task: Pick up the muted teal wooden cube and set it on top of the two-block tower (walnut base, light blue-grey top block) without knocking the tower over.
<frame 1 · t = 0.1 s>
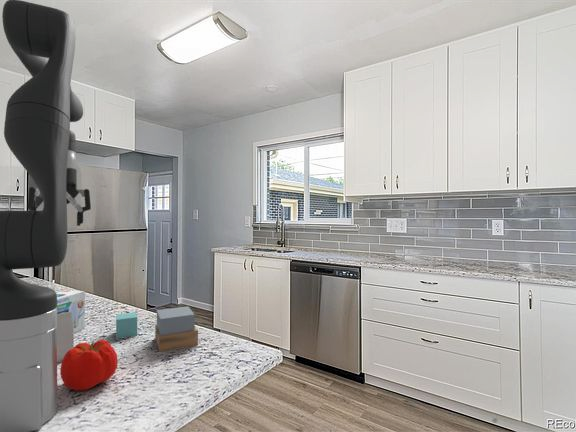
hand: (60, 225, 93), 29 cm above the countertop, fingers open, 8 cm apart
tomato: (90, 384, 65), on the countertop
teal cube: (126, 334, 91), on the countertop
white cardboard box: (53, 360, 75), on the countertop
light bulb box: (60, 334, 91), on the countertop
base block: (176, 343, 85), on the countertop, touching top block
top block: (175, 327, 85), point 4 cm above the countertop, touching base block
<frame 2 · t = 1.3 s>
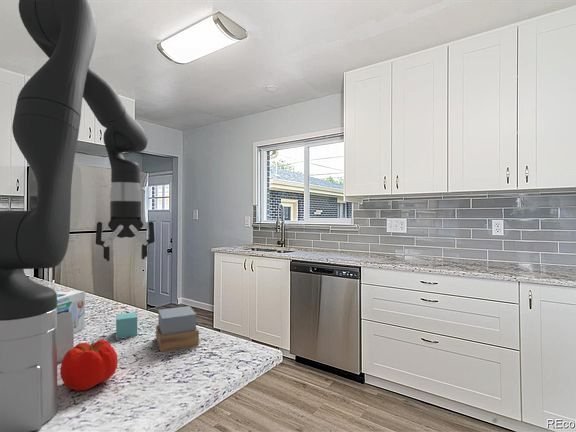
hand: (126, 259, 91), 20 cm above the countertop, fingers open, 8 cm apart
nothing on the countertop moved.
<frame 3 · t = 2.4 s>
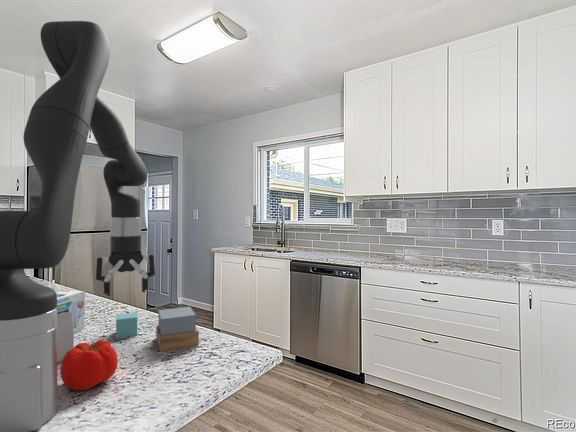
hand: (126, 293, 91), 11 cm above the countertop, fingers open, 8 cm apart
nothing on the countertop moved.
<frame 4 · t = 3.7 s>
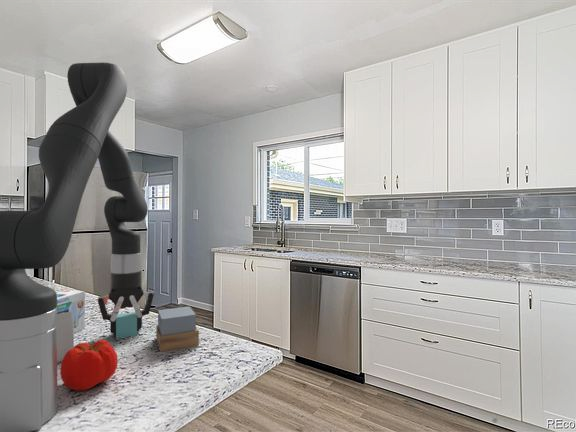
hand: (126, 332, 91), 0 cm above the countertop, fingers closed on teal cube, 5 cm apart
teal cube: (126, 333, 91), on the countertop, touching gripper
everything else where it was.
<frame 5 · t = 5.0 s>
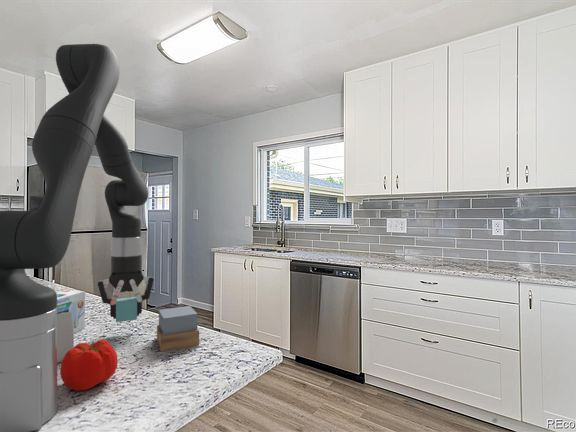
hand: (126, 316, 91), 5 cm above the countertop, fingers closed on teal cube, 5 cm apart
teal cube: (126, 318, 91), point 4 cm above the countertop, touching gripper
everything else where it was.
when the fingers open (9 cm above the countertop, at t = 10.3 s): teal cube drops 1 cm, resting on top block.
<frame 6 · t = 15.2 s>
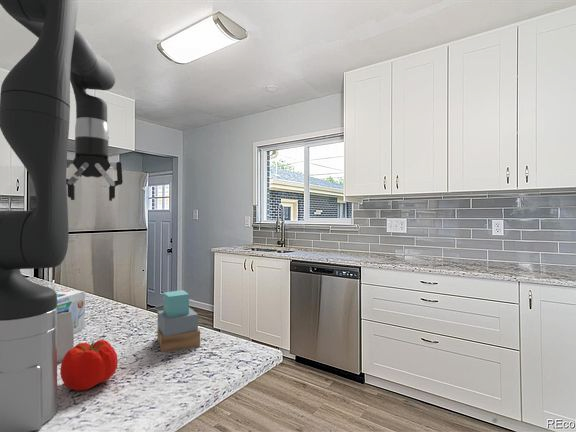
hand: (92, 200, 88), 36 cm above the countertop, fingers open, 8 cm apart
teal cube: (176, 313, 85), point 8 cm above the countertop, touching top block
top block: (177, 328, 85), point 4 cm above the countertop, touching base block, teal cube
everything else where it was.
at the end: teal cube 0.3 cm from the top block (horizontally); teal cube point 7.6 cm above the countertop; top block moved 0.8 cm from its start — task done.
